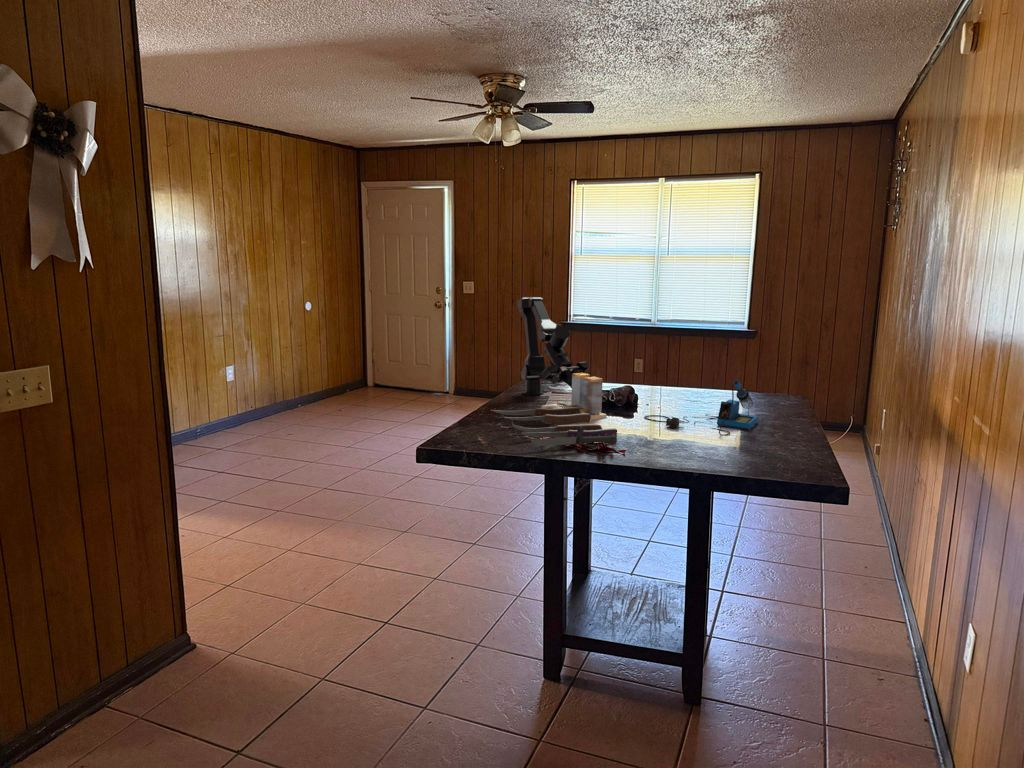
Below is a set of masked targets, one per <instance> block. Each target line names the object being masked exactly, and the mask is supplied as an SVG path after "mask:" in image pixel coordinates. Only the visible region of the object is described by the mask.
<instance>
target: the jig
mask: <svg viewBox="0 0 1024 768" xmlns="http://www.w3.org/2000/svg"><path fill="white" fill-rule="evenodd" d="M603 381H604V380H603V378H602V377H597V376H590V377H587V378H585V380H584V408H580V414H582V413H589V414H590V416H591V420H590V421H596V420H600V419H606V418H607V414H606V413H603V412H602V406H603V405H602V404H603ZM557 404H559V405H563V406H567V405H571V403H569V402H566V403H565V401H563V400H562V401H556V403H551V404H550V403H549V404H543V405H541V407H540V408H545V409H557V408H562V407H559V406H557Z"/></svg>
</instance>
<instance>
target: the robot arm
mask: <svg viewBox="0 0 1024 768" xmlns="http://www.w3.org/2000/svg"><path fill="white" fill-rule="evenodd" d="M516 306H517V309H518V313H519V315H520V316H521V318H522V319H523V323H524V334H525V342H526V343H525V344H526V353H527V355H526V356H525V357H526V358H525V360H524V361H523V364H524V365H523V367H522V369H521V371H520V378H521V379H522V380H524V391H521V394H524V395H528V396H536V395H537V396H539V395H544V392H543V391H542V389H541V386H542V383H541V382H542V381H541V380H543V381H544V382H545V381H546V382H551V384H561V383H562V382H564V384H566V385H568V387H570V389H572V374H574V373H585V374H586V372H587V371H588V370H589V369H590V364H589V363H588V361H580V362H577V363H576V365H574V366H572V365H573V364H574V362H573V361H572V360H571V361H570V360H569V358H568V356H569V353H568V352H566V351H565V350H564V347H565V345H566V343H567V341H568V339H569V337H570V331H569V329H567V328H566V327H564V326H563V325H562V324H557V323H555V322H553V321H552V320H551V319H550V316H549V314H548V312H547V309H546V307H545V305H544V299H543V297H541V296H540V297H539V296H523V297H520V298H519V299H518V300H517V304H516ZM537 325H538V326H537ZM537 327H538V328H537ZM539 340H540V342H541V343H546V344H545V346H544V349H543V353H544V354H547V355H548V357H549V359H550V360H551V361H550V362H549V365H547V366H546V362H545V357H544V356H543V355H541V354H540V348H539V347H540V346H539Z"/></svg>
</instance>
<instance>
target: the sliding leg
mask: <svg viewBox="0 0 1024 768" xmlns="http://www.w3.org/2000/svg"><path fill="white" fill-rule="evenodd" d="M587 377H591V374H589V373H586V372H585V373H574V374H572V388H571V398H570V399H571V401H570V402H571V403H570V404H571V405H567V406H563V408H567V407H579V408H584V380H585V378H587Z"/></svg>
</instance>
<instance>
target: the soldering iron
mask: <svg viewBox="0 0 1024 768" xmlns="http://www.w3.org/2000/svg"><path fill="white" fill-rule="evenodd" d="M734 387H735V389H736V391H737V392H736V394H735V395H736V396H735V395H734ZM731 389H732V391H731V392H732V394H731V397H732V399H728V400H726V401H723V400H722V401H721V402H720V407H719V411H718V414H717V415H718V416H713V415H710V417H709V414H708V413H706V414H705V415H704V416H707V417H708V418H706V417H703V416H702V417H701V416H693V418H695V419H698V418H700V419H705V420H706V421H708V424H710V425H711V424H713V422H712V420H714V419H717V420H716V425H717V426H719V428H717V427H716V428H715V427H711V428H712V430H716V429H717V430H716V431H718V435H720V436H721V435H725V436H729V435H731V431H728V430H726V429H722V428H723V427H725V426H726V428H732V427H733V429H739V428H742V429H741V430H746V429H750V428H751V427H752V426H753V425H754V424H756V423H757V424H758V420H759V417H758V415H751V414H750V409H751V408H752V407H753V406H754V401H753V399H752V396H751V395H750V394H749V392H748V390H747V389H745V388H743V386H742V384H740V381H739V380H737V379H735V380H733V384H732V386H731ZM734 397H736V398H737V399H738V400H735V399H734ZM740 406H741V407H742V408H743V409H747V414H745V413H740V412H739V411H740ZM648 417H661V418H666V420H657V419H651V418H648ZM644 419H645V420H649V421H653V422H658V423H659V422H660V423H665V427H668V426H669V427H670V429H675V430H677V429H678V428H679V429H684V428H685V427H683V426H680V424H688V423H690V420H688V419H686V416H683V418H682V419H683V420H680V418H679V417H672V418H670V417H668V416H666V415H658V414H657V415H656V414H654V415H653V414H652V415H645V416H644ZM710 420H711V421H710ZM696 423H699V421H694V422H693V425H696ZM700 423H703V424H705V422H703V421H700ZM757 424H756V425H757ZM754 426H755V425H754ZM754 426H753V427H754ZM753 427H752V428H753ZM752 428H751V429H752ZM751 429H750V430H751ZM721 432H726V433H725V434H723V433H721ZM728 434H729V435H728Z"/></svg>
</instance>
